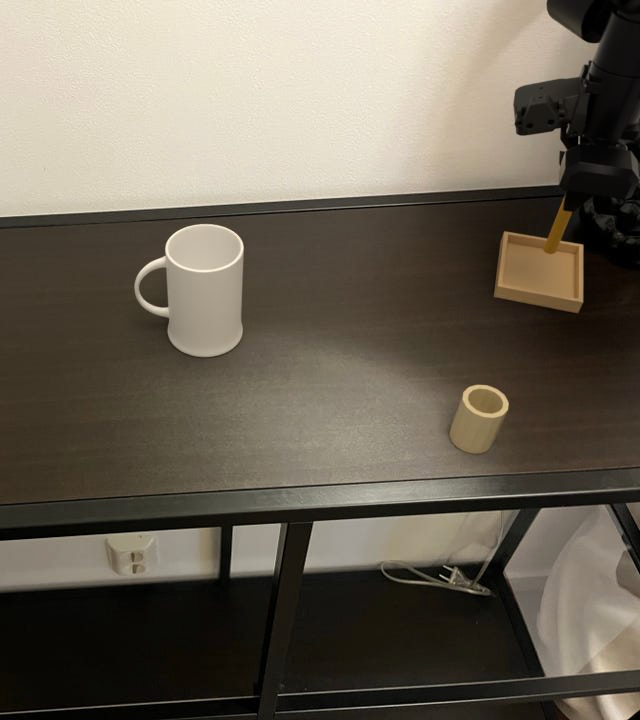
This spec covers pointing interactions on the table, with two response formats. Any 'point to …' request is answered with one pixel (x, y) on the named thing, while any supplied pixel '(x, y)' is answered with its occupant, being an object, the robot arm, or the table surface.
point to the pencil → (557, 230)
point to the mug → (201, 289)
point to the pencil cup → (478, 418)
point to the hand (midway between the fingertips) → (568, 206)
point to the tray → (540, 273)
